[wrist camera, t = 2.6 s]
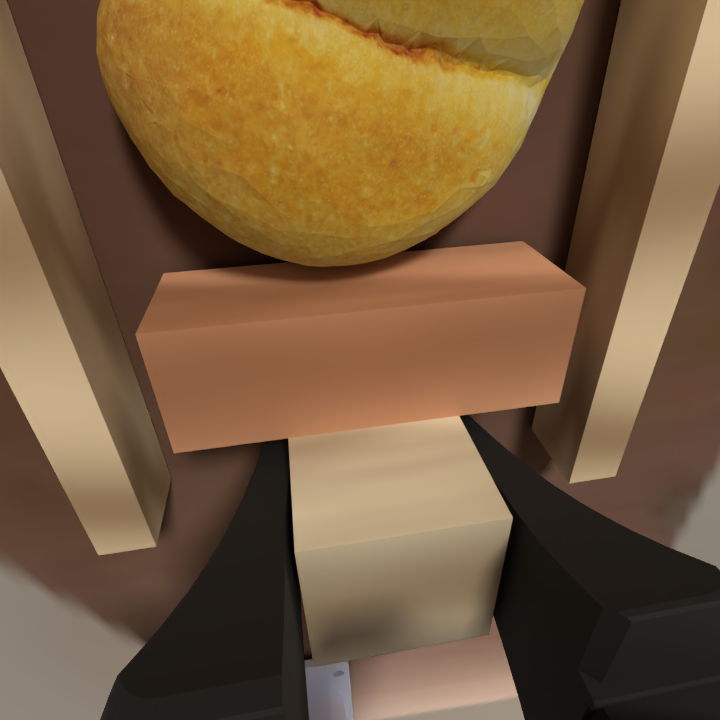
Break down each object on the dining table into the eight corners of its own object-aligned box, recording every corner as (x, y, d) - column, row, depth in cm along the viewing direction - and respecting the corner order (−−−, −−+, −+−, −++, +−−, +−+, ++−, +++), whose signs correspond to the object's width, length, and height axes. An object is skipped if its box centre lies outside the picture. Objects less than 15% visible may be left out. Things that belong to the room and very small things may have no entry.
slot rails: (572, 423, 17) (615, 476, 15) (121, 485, 15) (98, 555, 13) (766, -305, 8) (935, -425, 6) (-239, -357, 6) (-479, -550, 4)
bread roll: (99, 178, 11) (23, 236, 7) (176, -463, 7) (85, -972, 3) (426, 283, 13) (479, 360, 10) (624, -131, 9) (821, -231, 6)
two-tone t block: (492, 443, 16) (591, 614, 11) (219, 481, 15) (196, 689, 10) (522, 241, 13) (691, 365, 8) (163, 273, 12) (85, 442, 7)
